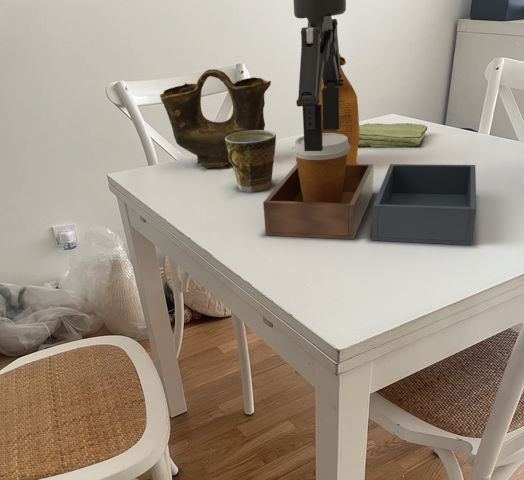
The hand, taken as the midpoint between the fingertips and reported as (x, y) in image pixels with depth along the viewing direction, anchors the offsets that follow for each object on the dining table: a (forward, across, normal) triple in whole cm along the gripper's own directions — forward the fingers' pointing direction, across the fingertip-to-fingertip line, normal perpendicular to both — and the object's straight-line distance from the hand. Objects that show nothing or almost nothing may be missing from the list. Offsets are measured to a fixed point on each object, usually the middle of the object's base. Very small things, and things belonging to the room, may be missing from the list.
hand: (322, 139), depth 88 cm
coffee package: (+13, -29, -4) cm, 32 cm away
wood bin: (+13, 0, 0) cm, 13 cm away
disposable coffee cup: (+12, 0, 0) cm, 12 cm away
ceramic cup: (+13, -12, -18) cm, 25 cm away
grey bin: (+13, 0, +17) cm, 21 cm away
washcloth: (+13, -50, +5) cm, 52 cm away
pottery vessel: (+12, -30, -31) cm, 45 cm away
